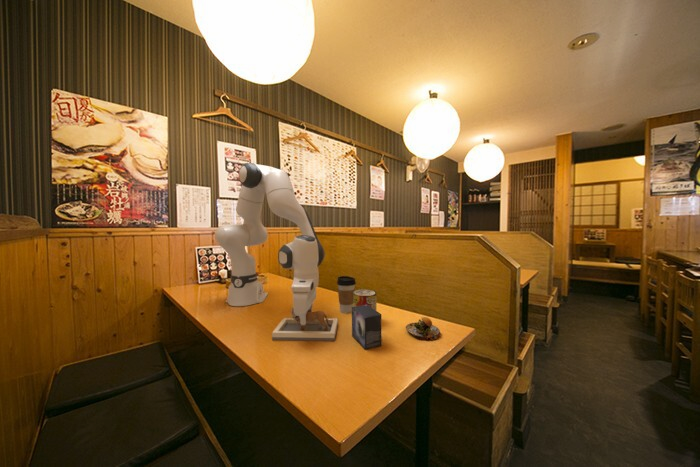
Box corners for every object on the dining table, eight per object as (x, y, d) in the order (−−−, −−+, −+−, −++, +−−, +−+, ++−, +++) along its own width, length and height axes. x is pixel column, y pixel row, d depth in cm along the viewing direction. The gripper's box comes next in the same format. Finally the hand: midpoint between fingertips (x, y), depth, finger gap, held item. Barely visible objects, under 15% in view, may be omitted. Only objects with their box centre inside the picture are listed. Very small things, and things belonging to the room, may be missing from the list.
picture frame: (284, 324, 95) (284, 317, 95) (337, 324, 94) (337, 318, 94) (272, 340, 82) (272, 332, 82) (334, 341, 81) (334, 333, 81)
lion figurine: (290, 334, 84) (290, 308, 84) (291, 328, 89) (291, 303, 89) (333, 331, 87) (332, 305, 86) (331, 325, 92) (331, 301, 92)
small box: (350, 336, 85) (350, 306, 85) (367, 332, 88) (367, 303, 87) (364, 350, 75) (364, 316, 75) (382, 346, 78) (382, 313, 78)
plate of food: (409, 324, 95) (409, 305, 95) (441, 330, 90) (441, 310, 90) (401, 337, 84) (402, 316, 84) (438, 344, 79) (438, 322, 79)
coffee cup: (344, 306, 116) (344, 274, 115) (359, 310, 111) (359, 277, 110) (333, 311, 109) (333, 278, 108) (348, 315, 104) (348, 280, 103)
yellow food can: (350, 325, 94) (350, 294, 93) (357, 317, 102) (357, 288, 102) (373, 328, 91) (373, 296, 90) (378, 320, 99) (378, 290, 99)
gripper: (304, 274, 98) (304, 308, 99) (289, 288, 78) (289, 330, 78) (319, 274, 98) (320, 308, 98) (309, 288, 77) (309, 331, 78)
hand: (306, 318), depth 88 cm, fingers open, 8 cm apart
